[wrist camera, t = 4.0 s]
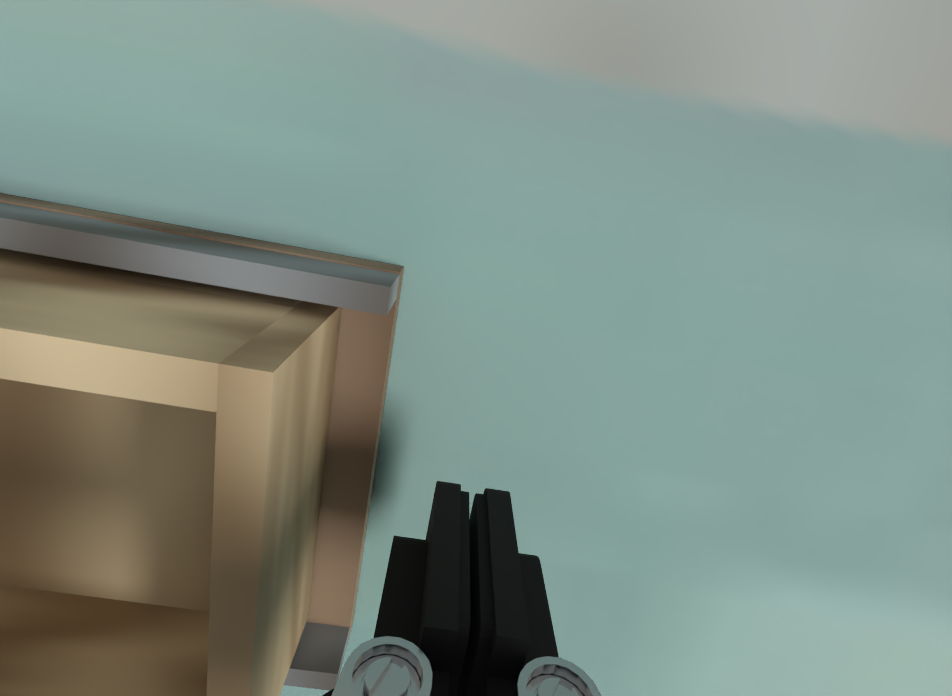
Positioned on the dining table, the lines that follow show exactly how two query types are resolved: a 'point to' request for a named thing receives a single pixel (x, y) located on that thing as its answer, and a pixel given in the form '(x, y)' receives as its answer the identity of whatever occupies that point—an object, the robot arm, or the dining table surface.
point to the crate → (156, 480)
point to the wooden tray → (355, 383)
